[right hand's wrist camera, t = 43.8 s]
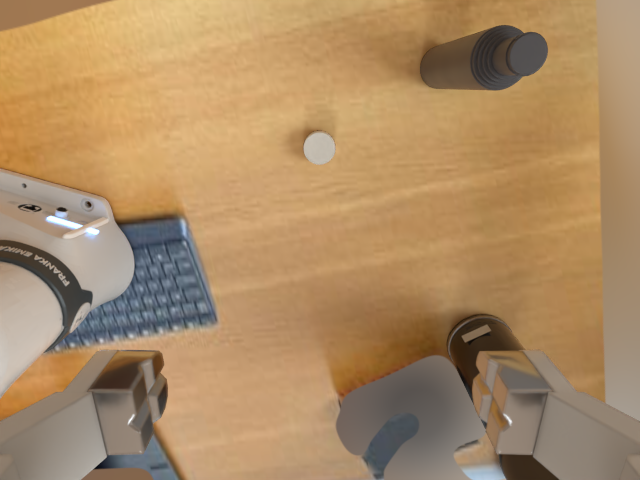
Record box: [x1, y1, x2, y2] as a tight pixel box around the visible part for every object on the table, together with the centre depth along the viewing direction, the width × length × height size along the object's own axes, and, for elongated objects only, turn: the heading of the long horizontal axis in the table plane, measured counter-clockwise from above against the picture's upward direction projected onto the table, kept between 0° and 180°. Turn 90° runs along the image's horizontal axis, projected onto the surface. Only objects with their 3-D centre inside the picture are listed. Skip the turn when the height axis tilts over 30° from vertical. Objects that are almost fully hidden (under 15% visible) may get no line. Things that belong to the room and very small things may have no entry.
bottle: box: [420, 25, 548, 90], centre depth 38 cm, size 5×5×22 cm
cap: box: [303, 130, 336, 164], centre depth 50 cm, size 4×4×2 cm
